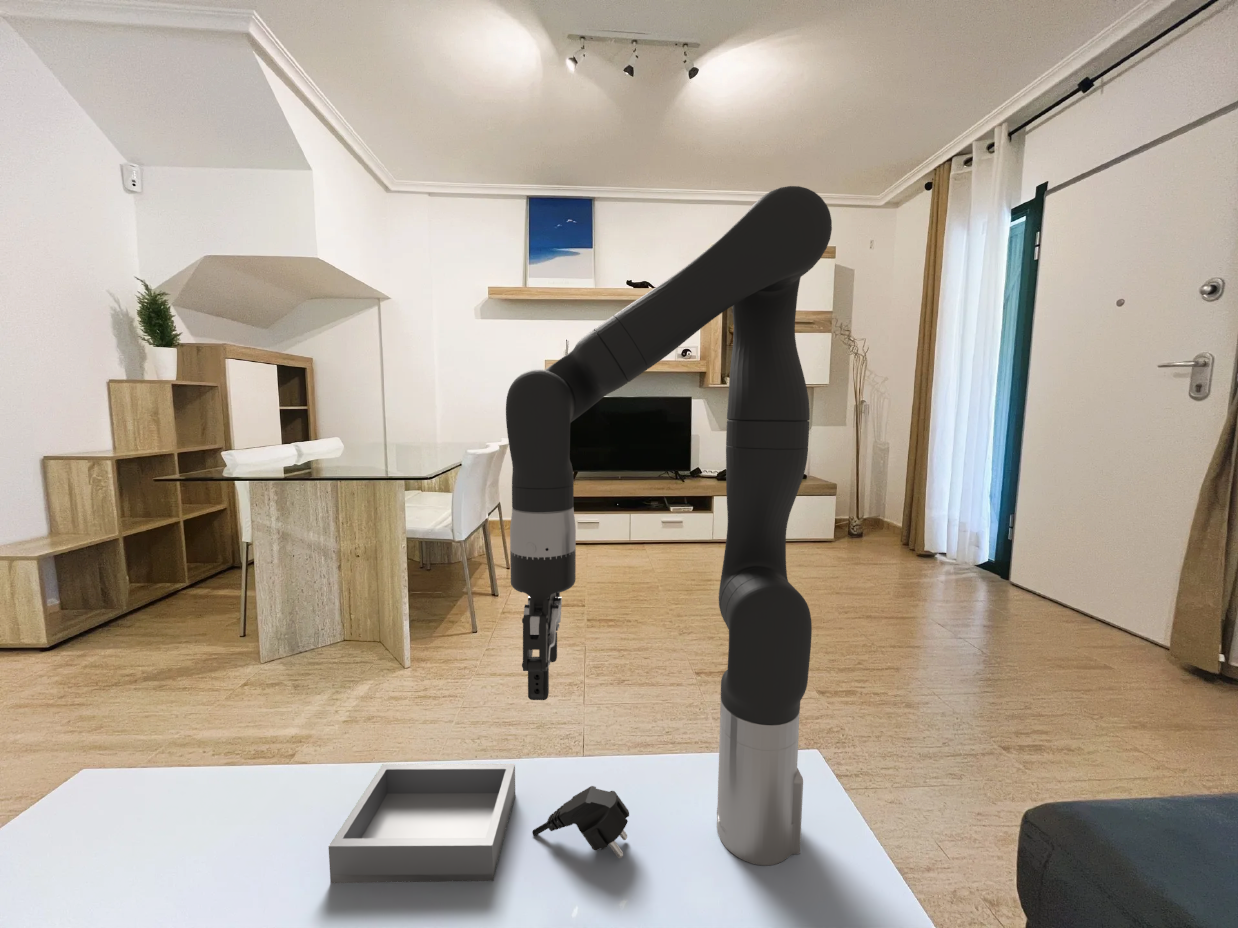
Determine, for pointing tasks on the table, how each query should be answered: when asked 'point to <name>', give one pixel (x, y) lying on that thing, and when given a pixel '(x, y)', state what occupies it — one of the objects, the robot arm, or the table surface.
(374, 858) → the box
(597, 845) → the power plug
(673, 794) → the table surface
